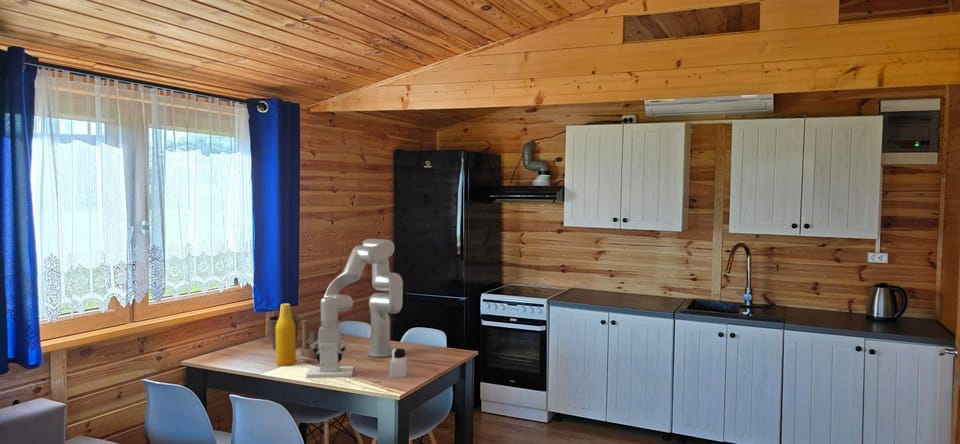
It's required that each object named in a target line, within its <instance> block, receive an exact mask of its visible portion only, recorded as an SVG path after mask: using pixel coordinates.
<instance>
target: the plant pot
mask: <svg viewBox="0 0 960 444" xmlns="http://www.w3.org/2000/svg"><path fill="white" fill-rule="evenodd" d="M279 316H280V314H279V315H278V314H276V315H271V316H269V317H268V318H267V321H268V323H269V327H270V334H271V344H272V349H274V350H276V324H277V321H278V319H279ZM291 317H292V319H293V321H294V323H295V344H296V345H297V344H298V343H297V342H298V341H297V340H298V327H299V324H300V323H299V322H300V319H301V316H299V315H297V314H291Z"/></svg>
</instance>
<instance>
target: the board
mask: <svg viewBox="0 0 960 444" xmlns="http://www.w3.org/2000/svg"><path fill="white" fill-rule="evenodd" d="M353 372H354V365H341V366H340V365H339V369H338V371H337V372H320V366H310V367H309V369H308V371H307V372H306V374H305V375H306V376H305V377H306V378H307V379H313V378H314V379H317V378H344V377H345V378H349V377H350V378H351V377H353Z"/></svg>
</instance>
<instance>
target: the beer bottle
mask: <svg viewBox="0 0 960 444" xmlns="http://www.w3.org/2000/svg"><path fill="white" fill-rule="evenodd" d="M279 310H280V311H279V315H280V316H279V319H278V321H277V324H276V349H275V364H276V365H277V366H281V367H288V366H292V365H295V364H296V361H297V356H296V355H297V354H296V352H297V351H296V348H297V344H295V323H294V321H293V319H292V317H291V315H292V311H291V304H290V303H281V304H280V309H279Z"/></svg>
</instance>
